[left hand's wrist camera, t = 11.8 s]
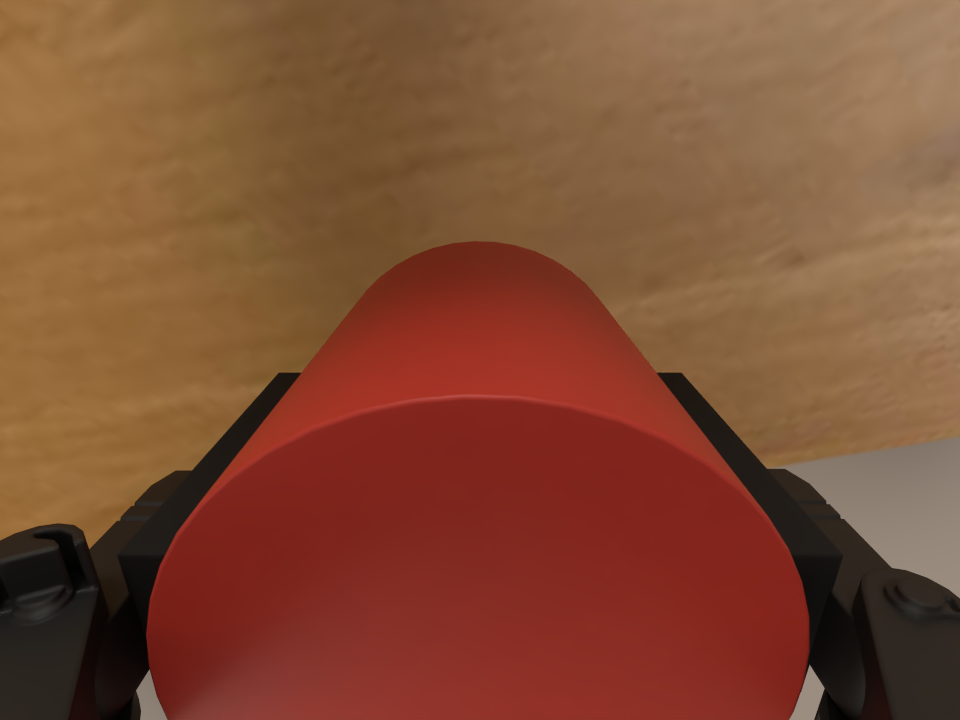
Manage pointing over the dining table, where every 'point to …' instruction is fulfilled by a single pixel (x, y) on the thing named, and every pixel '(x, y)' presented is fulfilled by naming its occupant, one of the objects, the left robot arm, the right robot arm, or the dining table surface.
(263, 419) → the left robot arm
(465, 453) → the canister
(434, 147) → the dining table surface
